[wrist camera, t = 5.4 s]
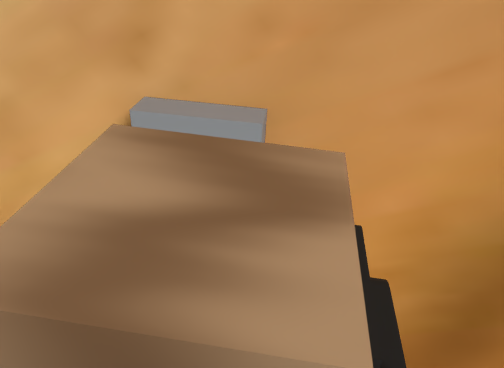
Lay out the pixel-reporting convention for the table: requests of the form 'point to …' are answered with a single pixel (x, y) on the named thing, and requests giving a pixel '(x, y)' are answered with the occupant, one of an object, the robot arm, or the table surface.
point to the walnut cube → (185, 259)
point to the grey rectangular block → (200, 118)
